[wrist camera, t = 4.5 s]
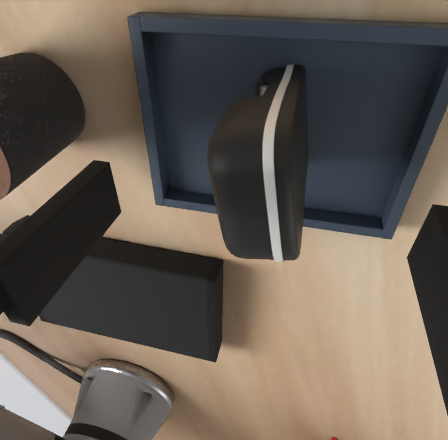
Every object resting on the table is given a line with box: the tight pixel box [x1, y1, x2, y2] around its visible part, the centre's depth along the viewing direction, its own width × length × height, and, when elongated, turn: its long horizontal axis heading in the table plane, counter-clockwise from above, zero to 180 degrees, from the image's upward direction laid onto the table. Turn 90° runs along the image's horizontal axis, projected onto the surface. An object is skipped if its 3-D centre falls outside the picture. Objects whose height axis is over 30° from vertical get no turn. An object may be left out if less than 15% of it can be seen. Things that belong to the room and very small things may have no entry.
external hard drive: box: [39, 238, 224, 362], centre depth 38 cm, size 14×23×3 cm, turn 89°
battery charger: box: [207, 64, 308, 263], centre depth 18 cm, size 7×4×11 cm, turn 10°
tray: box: [128, 12, 448, 239], centre depth 23 cm, size 19×14×2 cm
